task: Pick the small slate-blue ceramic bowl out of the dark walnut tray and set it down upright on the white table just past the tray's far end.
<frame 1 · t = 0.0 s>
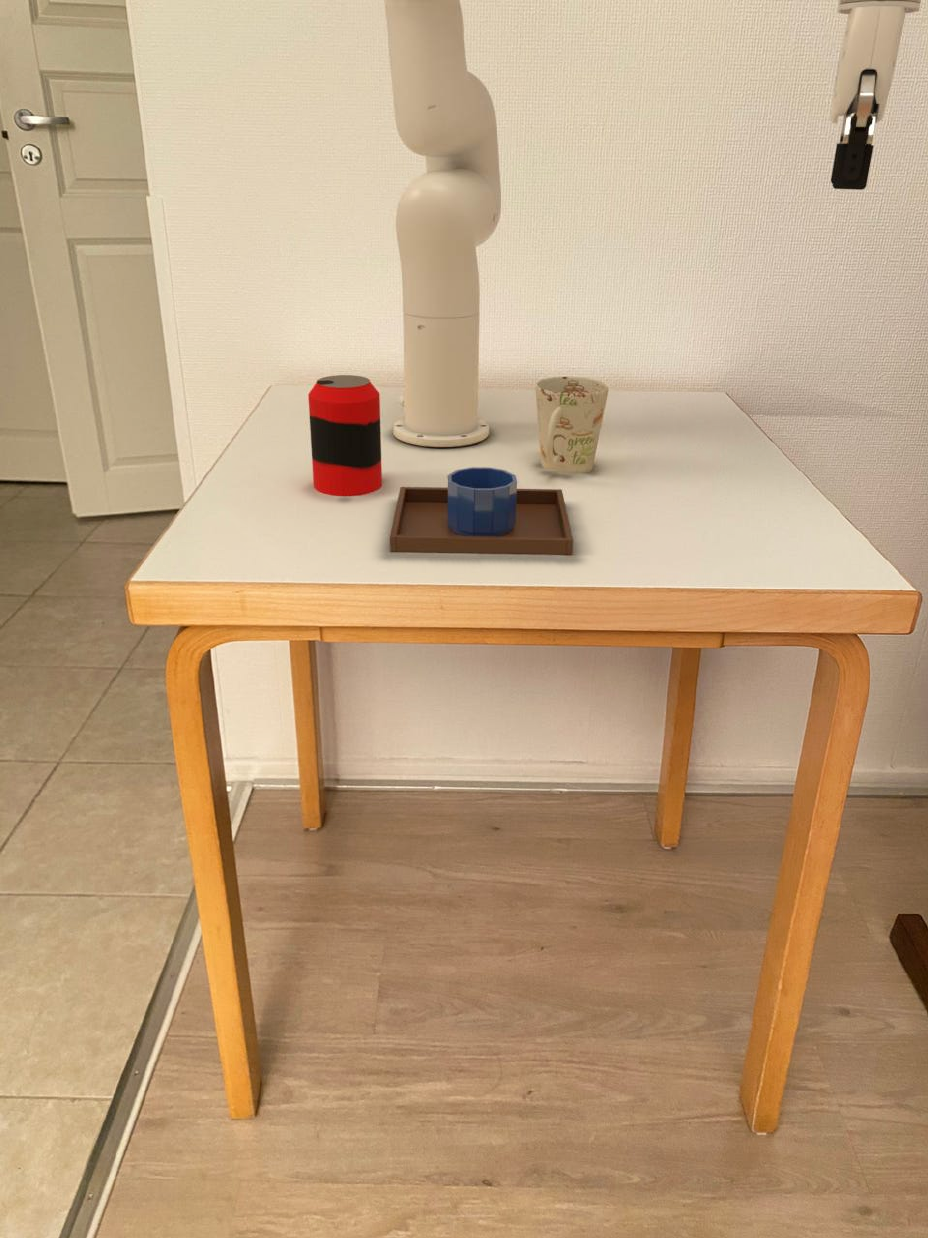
hand: (847, 186, 102), 31 cm above the table, tool pointing down, fingers open, 9 cm apart
soda can: (348, 490, 109), on the table
bowl: (481, 525, 98), resting on tray
tray: (480, 530, 98), on the table
mug: (562, 475, 115), on the table
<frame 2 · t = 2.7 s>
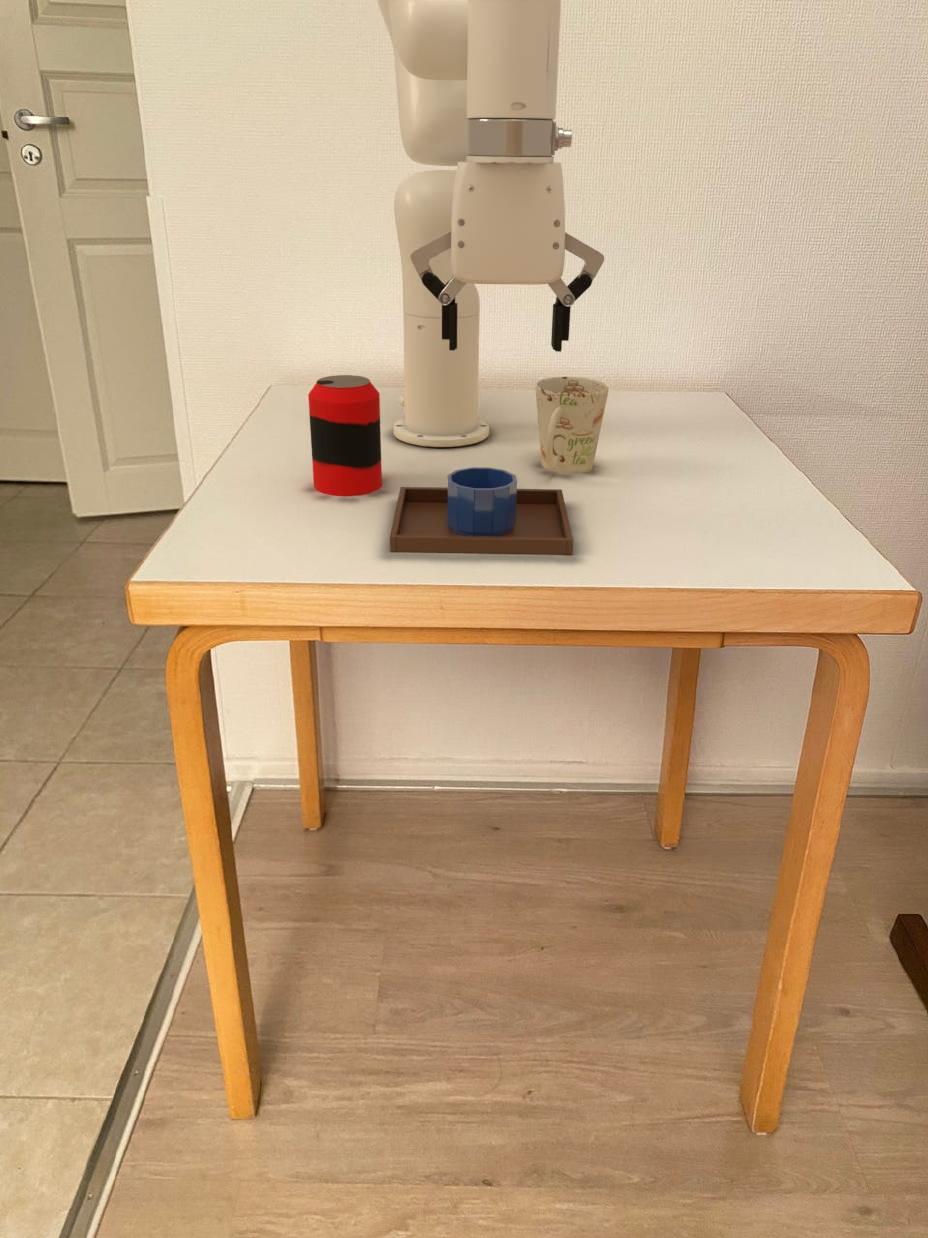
hand: (504, 348, 91), 18 cm above the table, tool pointing down, fingers open, 9 cm apart
nothing on the table moved.
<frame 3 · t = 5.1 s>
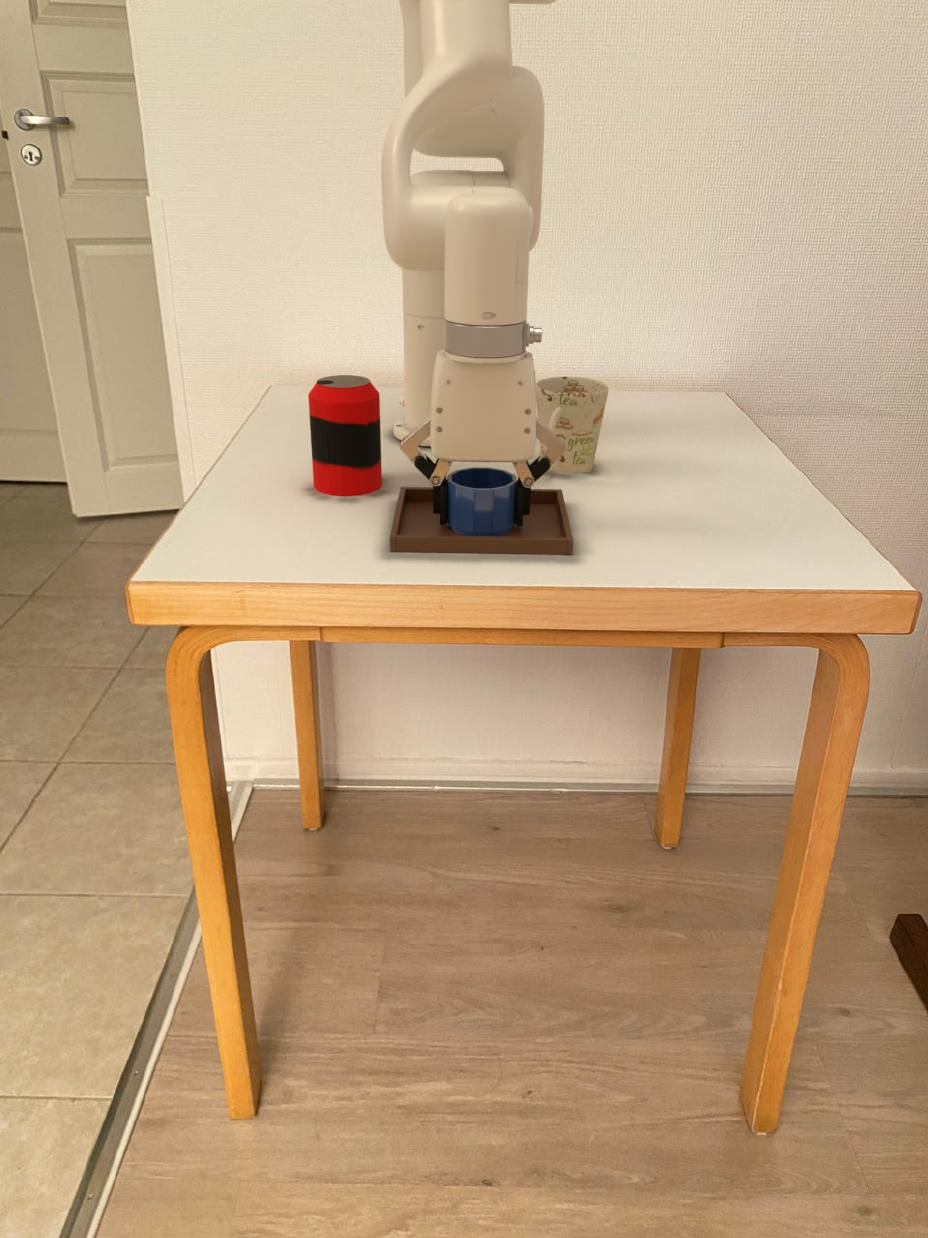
hand: (481, 519, 98), 1 cm above the table, tool pointing down, fingers closed on bowl, 6 cm apart
bowl: (481, 525, 98), point 1 cm above the table, touching gripper, tray
everything else where it was.
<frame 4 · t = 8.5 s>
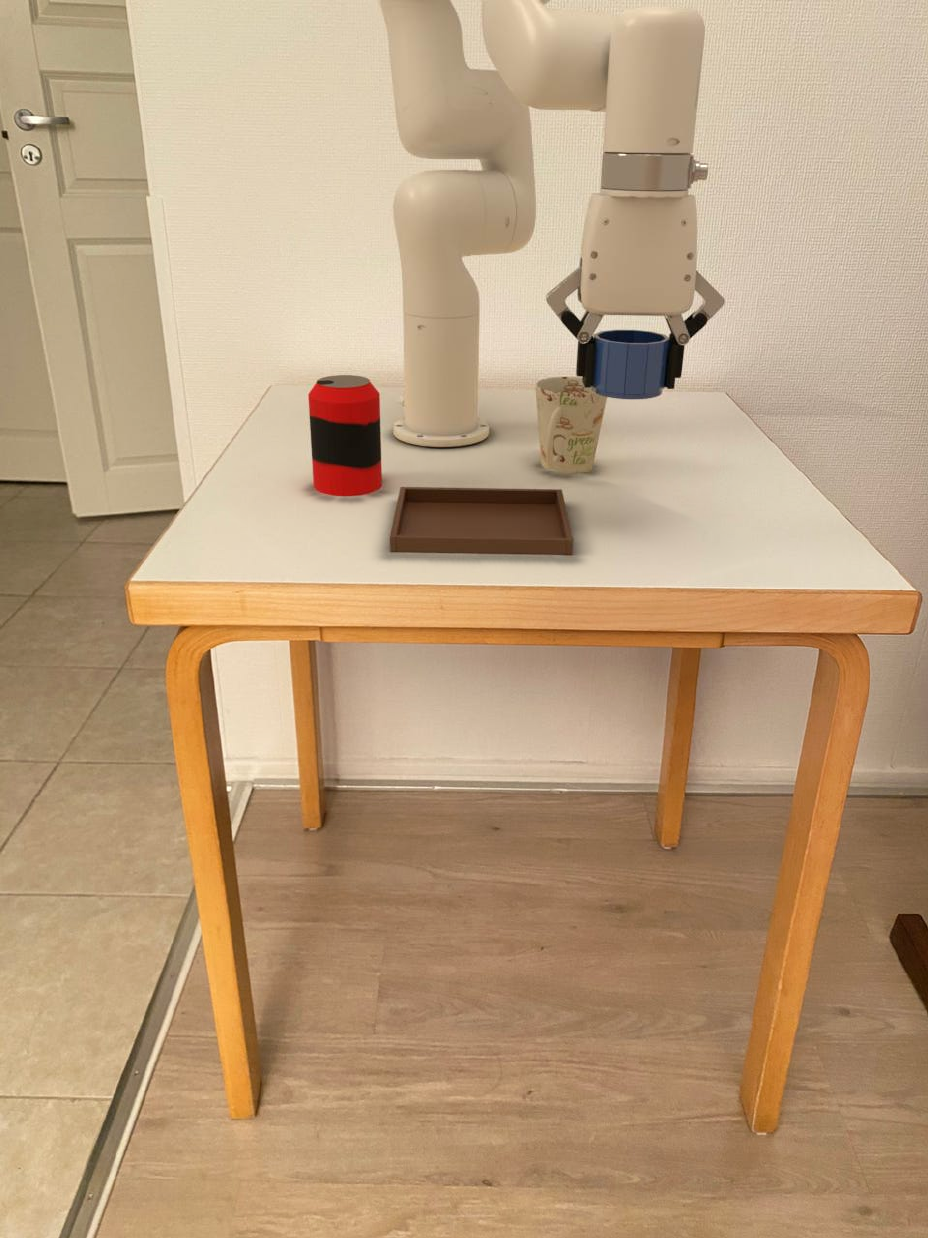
hand: (627, 383, 92), 15 cm above the table, tool pointing down, fingers closed on bowl, 6 cm apart
bowl: (626, 390, 92), point 14 cm above the table, touching gripper
everything else where it was.
when the fingers open (1 cm above the table, at t = 12.4 s): bowl stays where it is, on the table.
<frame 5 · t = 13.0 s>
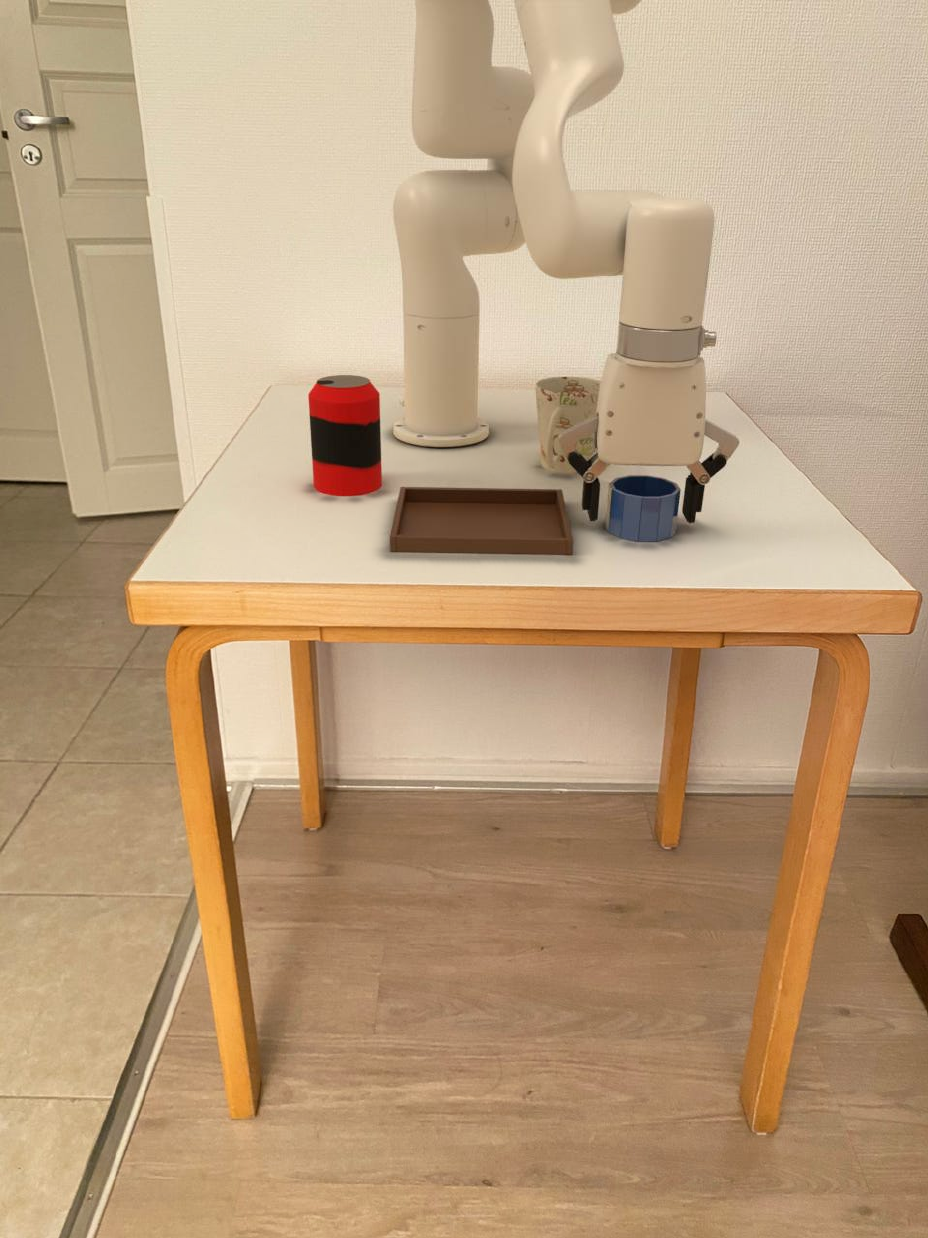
hand: (640, 517, 98), 2 cm above the table, tool pointing down, fingers open, 9 cm apart
bowl: (639, 533, 98), on the table
everything else where it was.
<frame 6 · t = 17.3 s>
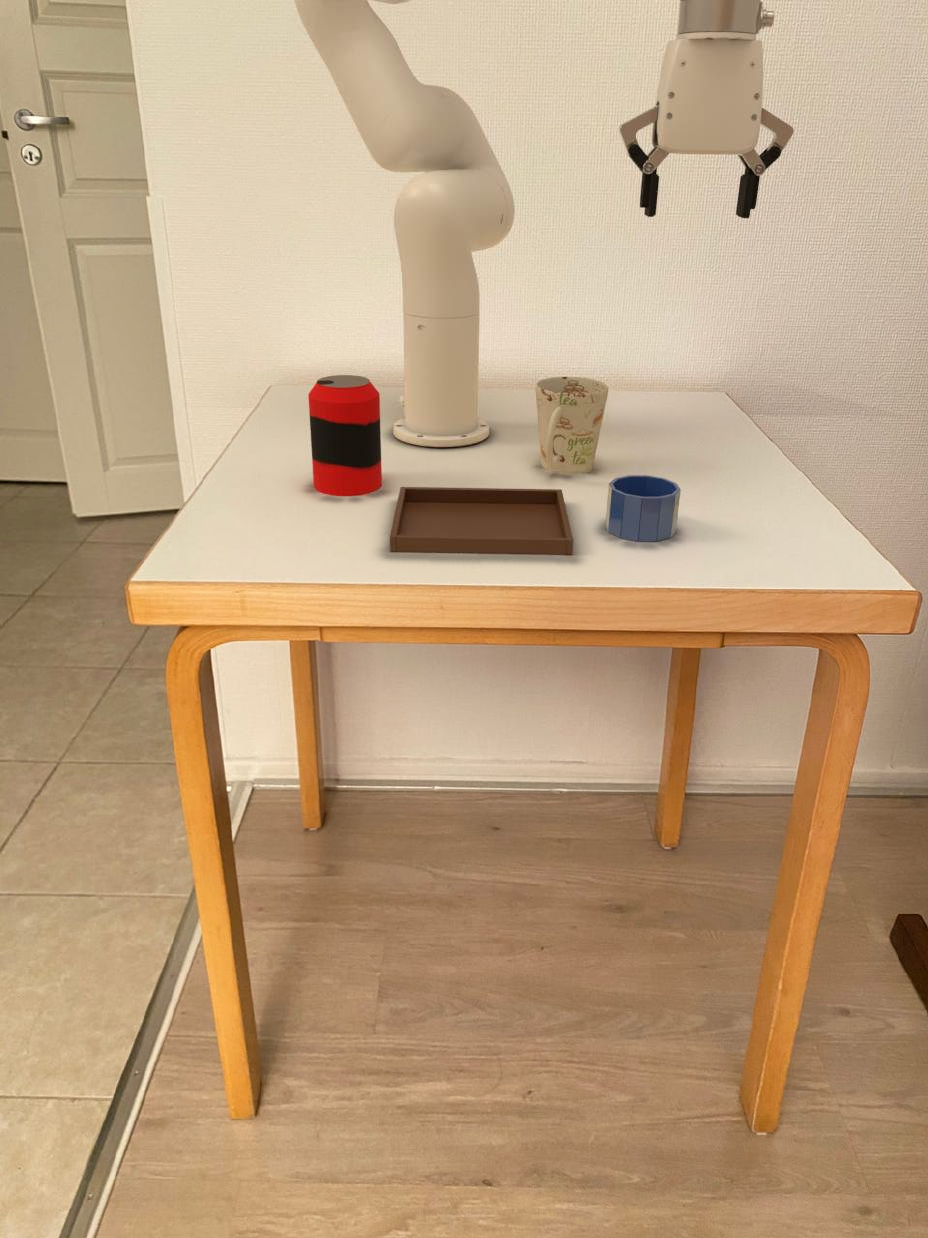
hand: (696, 216, 101), 28 cm above the table, tool pointing down, fingers open, 9 cm apart
nothing on the table moved.
at the end: bowl inside the target area (0.2 cm from its centre), on the table; bowl tilted 0°; the gripper is holding nothing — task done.
